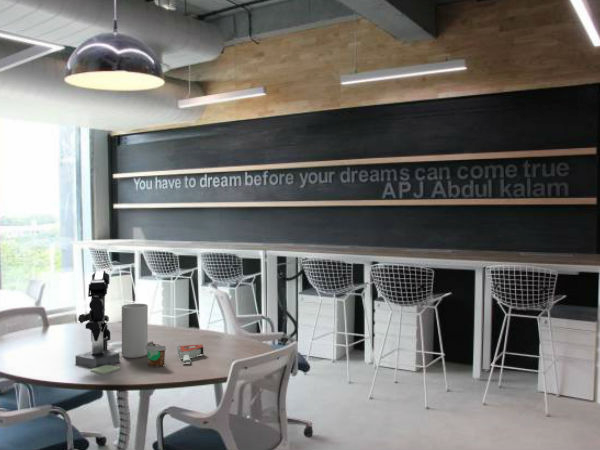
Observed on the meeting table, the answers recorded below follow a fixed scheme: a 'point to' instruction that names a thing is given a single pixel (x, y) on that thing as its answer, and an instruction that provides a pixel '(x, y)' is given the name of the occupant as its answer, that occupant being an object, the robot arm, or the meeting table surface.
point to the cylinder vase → (134, 330)
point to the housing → (97, 358)
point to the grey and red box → (189, 352)
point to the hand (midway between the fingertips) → (97, 339)
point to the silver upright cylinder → (97, 344)
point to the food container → (155, 354)
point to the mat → (105, 369)
